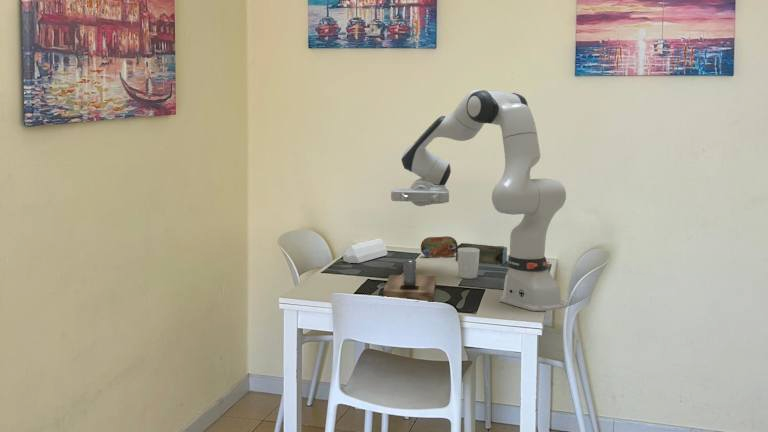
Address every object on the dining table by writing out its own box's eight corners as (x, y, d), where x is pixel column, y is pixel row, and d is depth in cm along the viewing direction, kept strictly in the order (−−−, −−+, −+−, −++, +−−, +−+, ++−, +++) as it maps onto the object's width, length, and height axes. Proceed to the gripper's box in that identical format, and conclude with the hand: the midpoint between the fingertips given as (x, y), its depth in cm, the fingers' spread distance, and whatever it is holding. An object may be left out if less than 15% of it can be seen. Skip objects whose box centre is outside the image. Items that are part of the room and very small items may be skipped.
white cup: (477, 279, 306) (478, 252, 304) (455, 278, 307) (456, 251, 306) (479, 275, 314) (480, 248, 312) (458, 273, 315) (458, 247, 314)
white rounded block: (371, 243, 353) (336, 252, 333) (384, 236, 349) (349, 245, 329) (378, 260, 352) (343, 270, 332) (391, 253, 348) (357, 263, 328)
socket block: (435, 284, 297) (436, 276, 297) (433, 301, 274) (433, 292, 273) (389, 283, 299) (389, 274, 298) (383, 300, 275) (383, 291, 275)
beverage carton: (503, 265, 332) (503, 248, 330) (454, 261, 338) (455, 245, 337) (507, 261, 339) (507, 245, 338) (459, 258, 345) (460, 242, 344)
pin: (417, 297, 279) (418, 261, 278) (406, 298, 278) (407, 262, 276) (412, 294, 283) (412, 258, 281) (401, 295, 281) (401, 259, 279)
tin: (421, 258, 343) (422, 237, 341) (419, 256, 346) (420, 236, 344) (457, 257, 346) (458, 236, 345) (455, 255, 349) (455, 235, 348)
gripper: (392, 184, 307) (388, 188, 293) (449, 185, 305) (448, 190, 292) (392, 201, 308) (388, 206, 294) (449, 202, 306) (448, 208, 293)
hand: (419, 198), depth 293 cm, fingers open, 8 cm apart
